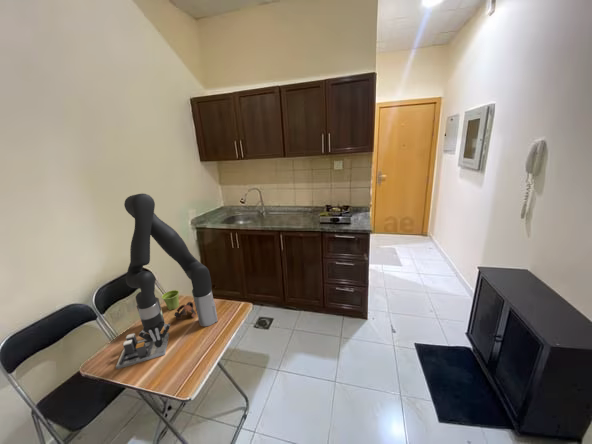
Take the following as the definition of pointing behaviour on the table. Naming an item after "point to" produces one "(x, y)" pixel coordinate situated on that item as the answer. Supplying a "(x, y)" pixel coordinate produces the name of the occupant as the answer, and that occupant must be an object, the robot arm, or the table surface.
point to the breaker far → (132, 338)
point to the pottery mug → (186, 307)
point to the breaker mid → (129, 346)
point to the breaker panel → (151, 353)
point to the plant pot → (171, 299)
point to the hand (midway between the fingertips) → (159, 345)
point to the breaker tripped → (141, 349)
